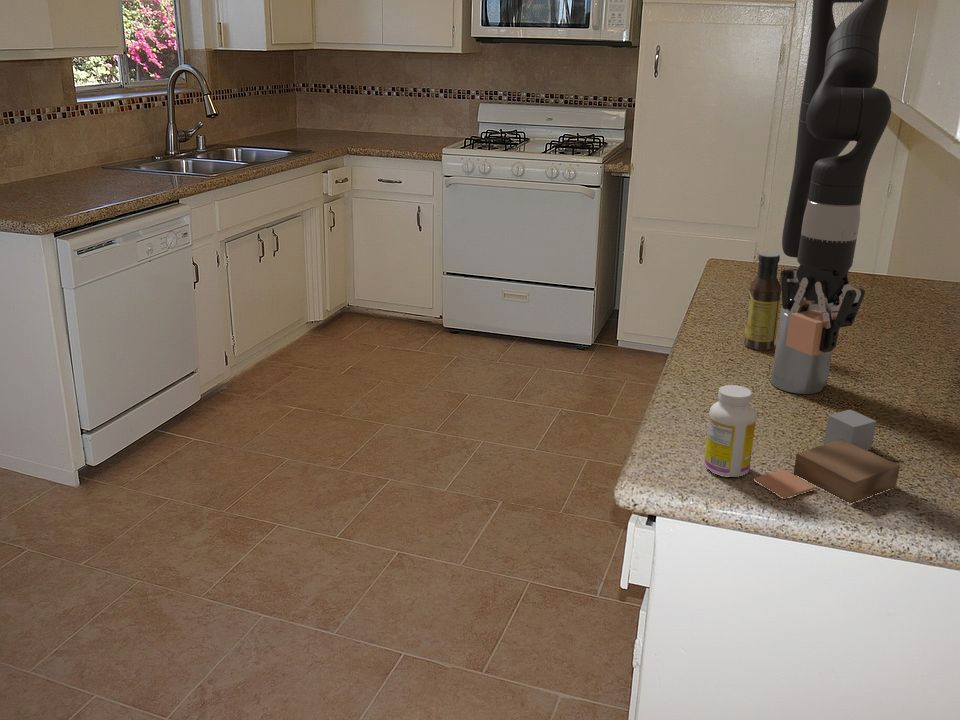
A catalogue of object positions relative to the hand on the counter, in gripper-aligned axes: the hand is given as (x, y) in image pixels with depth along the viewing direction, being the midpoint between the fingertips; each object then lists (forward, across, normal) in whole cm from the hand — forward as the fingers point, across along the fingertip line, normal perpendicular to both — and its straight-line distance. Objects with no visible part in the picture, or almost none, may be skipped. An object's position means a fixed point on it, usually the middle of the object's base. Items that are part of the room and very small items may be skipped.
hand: (811, 345), depth 131 cm
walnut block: (+18, -10, 0) cm, 21 cm away
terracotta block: (0, 0, 0) cm, 0 cm away
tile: (+18, -7, +9) cm, 22 cm away
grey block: (+18, -2, -10) cm, 20 cm away
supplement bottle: (+18, 0, +13) cm, 23 cm away
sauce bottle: (+17, +40, -30) cm, 52 cm away
